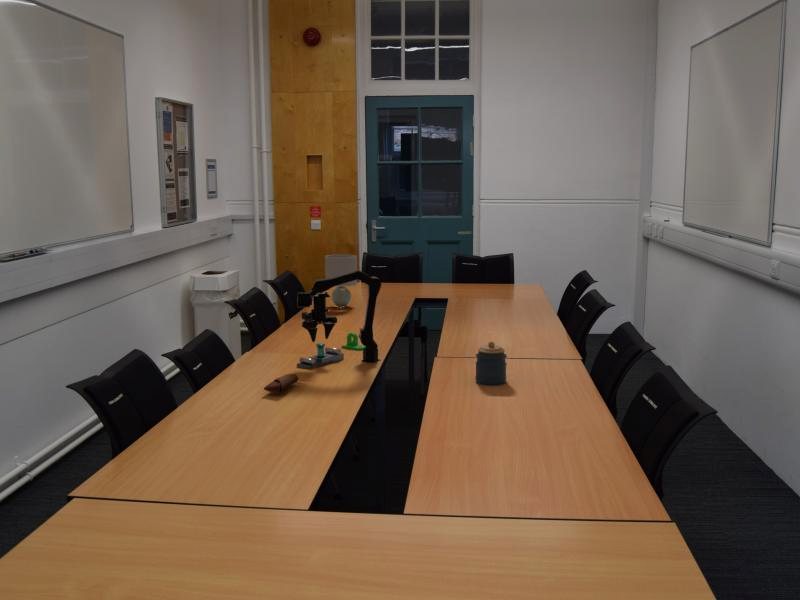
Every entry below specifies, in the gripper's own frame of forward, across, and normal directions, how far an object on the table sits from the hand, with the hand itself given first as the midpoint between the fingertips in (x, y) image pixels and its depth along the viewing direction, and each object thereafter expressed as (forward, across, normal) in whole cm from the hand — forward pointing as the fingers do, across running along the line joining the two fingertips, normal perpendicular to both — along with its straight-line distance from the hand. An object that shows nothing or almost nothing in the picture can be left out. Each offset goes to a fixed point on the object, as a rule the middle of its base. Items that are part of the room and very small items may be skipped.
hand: (320, 340), depth 373 cm
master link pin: (+11, 0, 0) cm, 11 cm away
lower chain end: (+11, 0, 0) cm, 11 cm away
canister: (+11, -13, +82) cm, 84 cm away
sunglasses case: (+12, +44, +14) cm, 48 cm away
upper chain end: (+11, 0, 0) cm, 11 cm away
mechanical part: (+11, -33, -5) cm, 35 cm away
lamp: (+11, -121, -85) cm, 148 cm away
